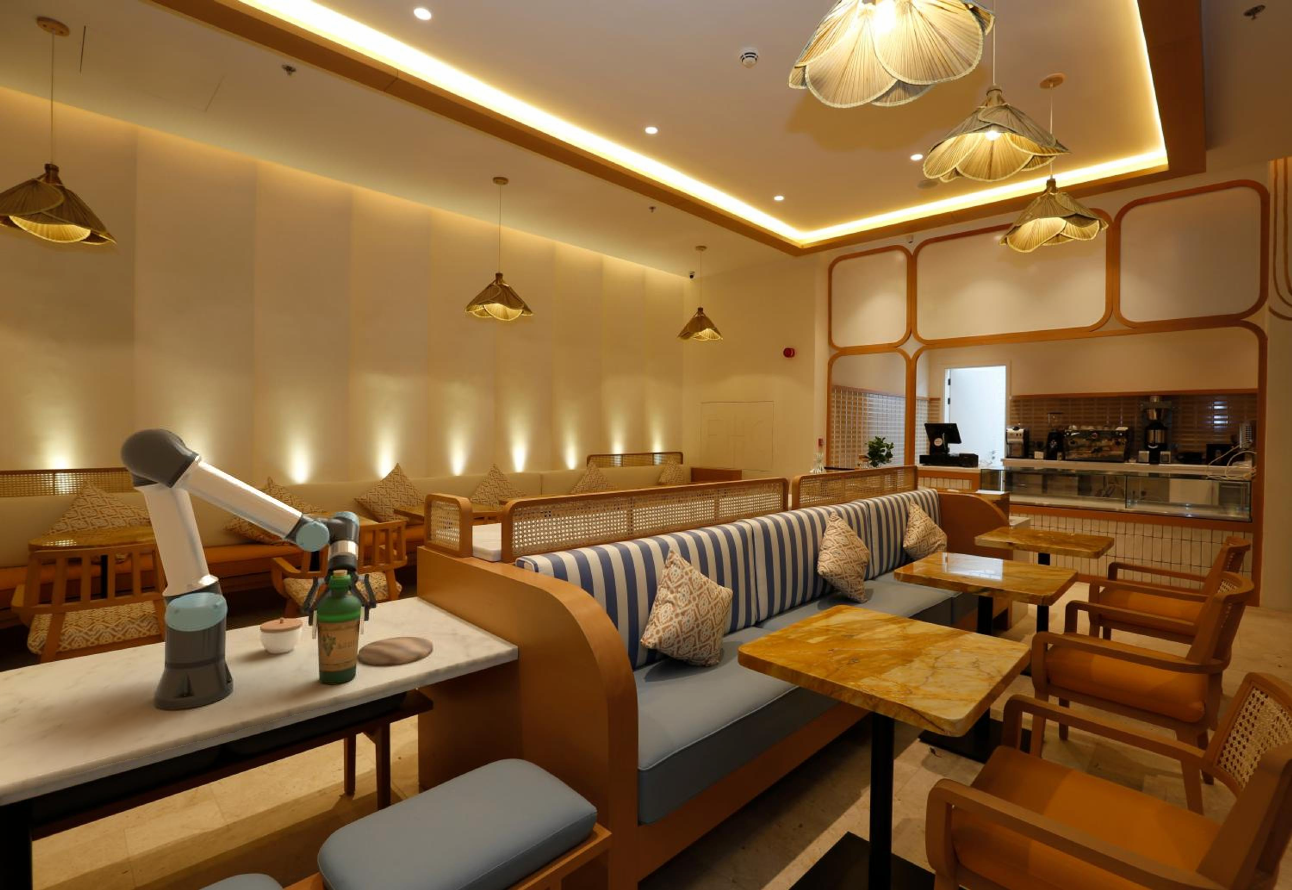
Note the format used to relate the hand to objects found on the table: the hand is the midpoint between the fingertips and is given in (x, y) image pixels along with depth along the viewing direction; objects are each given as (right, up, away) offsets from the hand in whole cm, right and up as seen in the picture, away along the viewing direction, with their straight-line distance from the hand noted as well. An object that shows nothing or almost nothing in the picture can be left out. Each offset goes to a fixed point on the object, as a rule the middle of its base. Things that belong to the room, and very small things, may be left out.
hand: (338, 634), depth 153 cm
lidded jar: (-29, -12, +23) cm, 39 cm away
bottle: (-2, -13, +3) cm, 13 cm away
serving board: (+5, -13, +23) cm, 26 cm away
